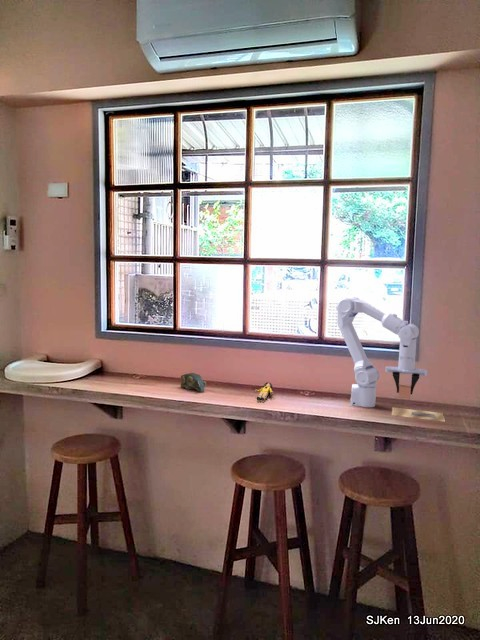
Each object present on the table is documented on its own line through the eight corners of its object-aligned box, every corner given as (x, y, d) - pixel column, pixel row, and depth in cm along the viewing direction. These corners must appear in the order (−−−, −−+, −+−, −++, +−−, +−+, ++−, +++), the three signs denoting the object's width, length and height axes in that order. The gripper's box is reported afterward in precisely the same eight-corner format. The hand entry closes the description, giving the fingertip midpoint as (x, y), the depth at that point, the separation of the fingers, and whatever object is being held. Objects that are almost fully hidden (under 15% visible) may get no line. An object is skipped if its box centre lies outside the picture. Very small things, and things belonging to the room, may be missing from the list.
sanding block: (398, 397, 172) (399, 387, 172) (398, 393, 178) (399, 383, 177) (410, 398, 171) (410, 388, 170) (409, 395, 177) (410, 384, 176)
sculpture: (209, 391, 202) (209, 375, 201) (197, 393, 197) (197, 377, 197) (191, 385, 211) (191, 370, 211) (179, 387, 207) (179, 372, 207)
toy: (250, 395, 188) (260, 380, 202) (251, 405, 190) (260, 389, 203) (269, 397, 186) (278, 381, 200) (269, 407, 187) (278, 391, 201)
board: (391, 418, 171) (391, 414, 171) (392, 410, 182) (392, 407, 181) (445, 424, 165) (445, 421, 165) (442, 416, 176) (442, 412, 176)
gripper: (386, 356, 171) (383, 393, 173) (428, 360, 167) (425, 397, 168) (386, 353, 178) (384, 388, 179) (427, 357, 173) (425, 393, 175)
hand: (404, 393), depth 174 cm, fingers closed on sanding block, 4 cm apart
